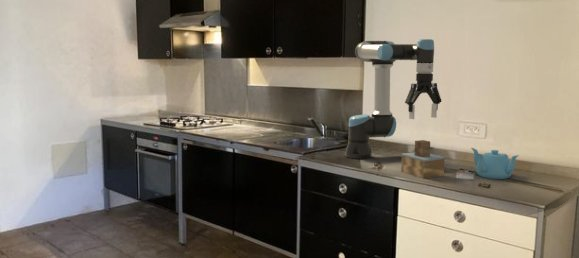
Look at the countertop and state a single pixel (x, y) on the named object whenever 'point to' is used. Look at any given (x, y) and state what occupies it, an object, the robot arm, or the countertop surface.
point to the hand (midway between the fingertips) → (422, 118)
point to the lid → (428, 158)
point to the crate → (423, 167)
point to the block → (422, 148)
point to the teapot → (494, 165)
